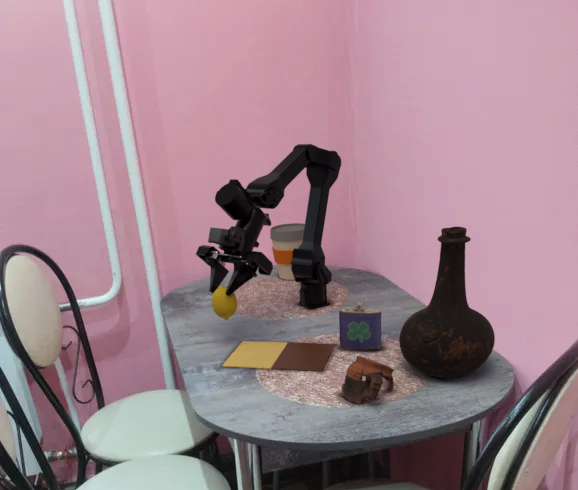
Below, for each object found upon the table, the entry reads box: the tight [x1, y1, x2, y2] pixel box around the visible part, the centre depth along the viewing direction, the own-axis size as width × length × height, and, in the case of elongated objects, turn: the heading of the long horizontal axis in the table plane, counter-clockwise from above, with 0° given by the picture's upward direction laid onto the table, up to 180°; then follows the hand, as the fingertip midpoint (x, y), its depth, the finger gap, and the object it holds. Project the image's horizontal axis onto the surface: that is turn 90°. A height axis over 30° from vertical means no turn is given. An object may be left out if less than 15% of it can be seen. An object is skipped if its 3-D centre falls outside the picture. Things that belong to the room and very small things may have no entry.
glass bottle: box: [398, 226, 496, 379], centre depth 115 cm, size 18×18×28 cm
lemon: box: [211, 285, 238, 321], centre depth 135 cm, size 6×6×8 cm
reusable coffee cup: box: [269, 222, 305, 281], centre depth 186 cm, size 13×13×15 cm
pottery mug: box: [340, 355, 395, 405], centre depth 112 cm, size 12×10×8 cm
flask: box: [338, 301, 382, 352], centre depth 131 cm, size 9×3×11 cm, turn 74°
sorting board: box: [221, 340, 336, 372], centre depth 133 cm, size 14×22×1 cm, turn 75°
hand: (218, 293), depth 133 cm, fingers closed on lemon, 4 cm apart
